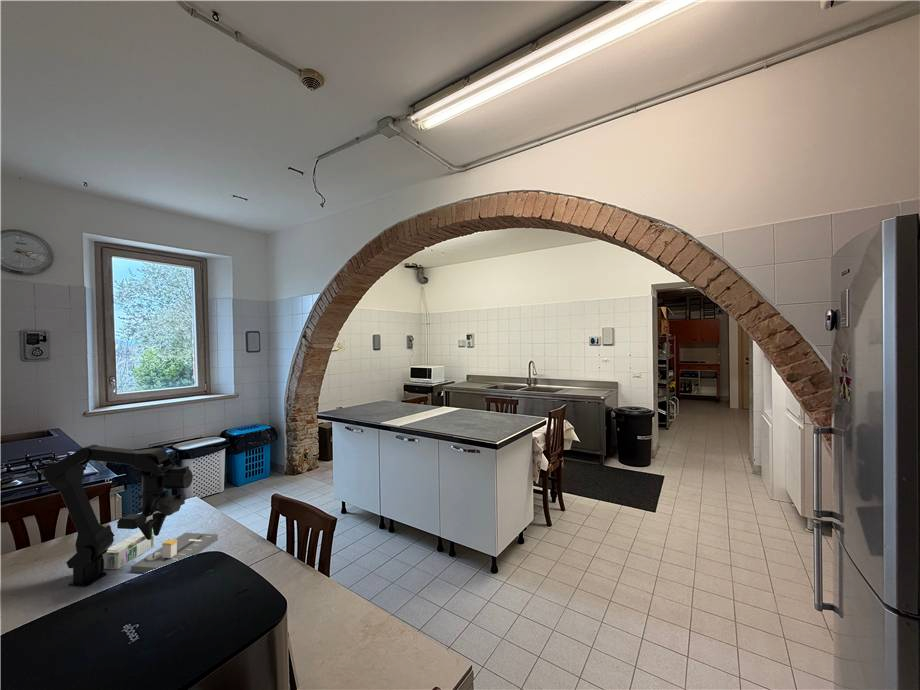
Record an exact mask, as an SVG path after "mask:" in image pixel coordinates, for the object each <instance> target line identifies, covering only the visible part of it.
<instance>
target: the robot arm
mask: <svg viewBox="0 0 920 690" xmlns="http://www.w3.org/2000/svg"><path fill="white" fill-rule="evenodd" d="M91 461H94V462H95V461H96V462H103V463H111V464H112V463H113V464H114V463H115V464H120V465H121V464H122V465H128V466H131V467H132V468H134V469H137V470H139V471H138V472H137V473H136V474H134V475H133V478H141V493H139V494H138V495H137V498H138V499H141V506H140V507H138V508H137V511H138V512H141V513H129V514H126V515H124V516H122V517H120V518H119V519H118V520H117V522H116V528H117V529H121V530H122V529H123V530H137V529H139V531H141V532H142V533H143V535H144V536H145V537H146V539H147V540H151V537H152V531H153V532H154V537H155V536H156V537H157V536H159V534H160V533H161V529H162V527H163V525H164V521H165V520H166V518H167V516H172V515H173V514H174V513H177V512H179V511H180V509H181V506H183V505H185V504H186V502H185V501H186V495H185V493H183V492H180V493H177V494H176V495H172V494H171V495H170V494H169V490H175V489H176V490H177V489H188V488H190V486H192V485H191V484H192V482H193V479H194V474H193V472H192V470H191V469H190V466H188V465H187V466H185V465H184V466H179V467H178V466H177V464H176V462H174V460H173V459H172V458H171V457H170V455H169V453H168V452H167V451H166V449H165V448H162V447H161V448H160V447H158V448H145V449H130V448H120V447H113V446H103V445H98V444H91V445H87V446H84V447H82V448H79V449H78V450H77V451H75V452H73V453H72V454H70V455H68V456H66V457H64V458H62V459H61V460H58V461H54V462H51V463H49V464H48V465H47V466H46V467H45V468H44V470H43V471H42V475H43V477H44V479H45V481H46V482H47V483H48V485H49V486H50V487H53V488H54V489H55V490H56V491H59V493H60V495H61V498H62V500H63V502H64V505H65V507H66V509H67V511H68V513H69V516H70V518H71V522H72V523H73V525H74V528H75V530H76V532H77V535H76V540H75V551H76V553H75V554H74V555H72V557H70V558H69V559H68V560H67V561H66V566H67V569H72V581H70V582H68V583H67V586H74V587H76V586H77V587H88V586H90V585H91V584H93V583H96V581H98V580H100V579H102V578H103V577H105V576H107V575H108V572H106V571H105V569H104V559H103V554H104V553H106V552H107V550H108V549H109V548H111V547H112V546H113V545H112V544H113V543H114V537H115V535H116V534H114V532H113V531H112V530H113V529H112V527H111V525H110V524H108V525H106V526H104V525H102V524H100V523H99V521H98V519H97V516H96V514H95V511H94V509H93V506H92V505H91V502H90V499H89V497H88V495H87V492H86V489H85V487H84V485H83V478H84V475H85V473H84V466H85V465H87V464H88V463H90V462H91Z"/></svg>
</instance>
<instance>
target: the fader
mask: <svg viewBox="0 0 920 690" xmlns="http://www.w3.org/2000/svg"><path fill="white" fill-rule="evenodd" d="M161 546H162V547H163V558H172V557H173V556H175V555H176V554H177V540H175V539H171V538H169V539H167V540H165V541H164V542H162V543H161Z"/></svg>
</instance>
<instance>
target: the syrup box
mask: <svg viewBox="0 0 920 690" xmlns="http://www.w3.org/2000/svg"><path fill="white" fill-rule="evenodd" d="M154 547H155V535H154V532H153V530H152V537H151V540H147V539H146V537H145V536H144V535H143V533H142V532H141V530H139V531H137V532H135V533H134V534H131V535H130V536H129V537H127V538H125V539H123V540H121V541H120V542H118V543H116V544H114V545H111V546H110V547H109V548H108V550H107V552H106V553H104V554H103V559H104V570H105V569H106V570H118V569H121V568H122V567H123V566H125V565H127V564H128V563H130V562H131V561H133V560H134V559H136V558H137V557H139V556H140V555H142V554H144V553H146V552H148V550H151V549H152V548H154Z"/></svg>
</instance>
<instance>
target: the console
mask: <svg viewBox="0 0 920 690" xmlns="http://www.w3.org/2000/svg"><path fill="white" fill-rule="evenodd" d="M174 540H177V554H176V555H175V556H173V557H172V558H163V546H162V547H160V548H159V549H157V550H155V551H153V552H152V553H149V554H148V555H146V557H143V558H142V559H140V560H139V561H137V562H136V563H134V564H132V565H131V567H130V572H131V573H136V572H142V573H141V574H146V573H145V572H148V571H150V570H153V569H156V568H159V567H161V566H164V565H167V564H169V563H172V562H174V561H177V560H180V559H182V558H185V557H187V556H190V555H194V554H197V553H198V554H200V553H201V552H202V551H203V550H205V549H206V548H208V547H210V546H211V545H212V544H214V543H215V542H217V541H218V540H219V539H218V534H217V533H201V532H199V533H197V532H184V533H183V534H181V535H179V536H178V537H176V538H175V539H174ZM198 554H197V555H198Z"/></svg>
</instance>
